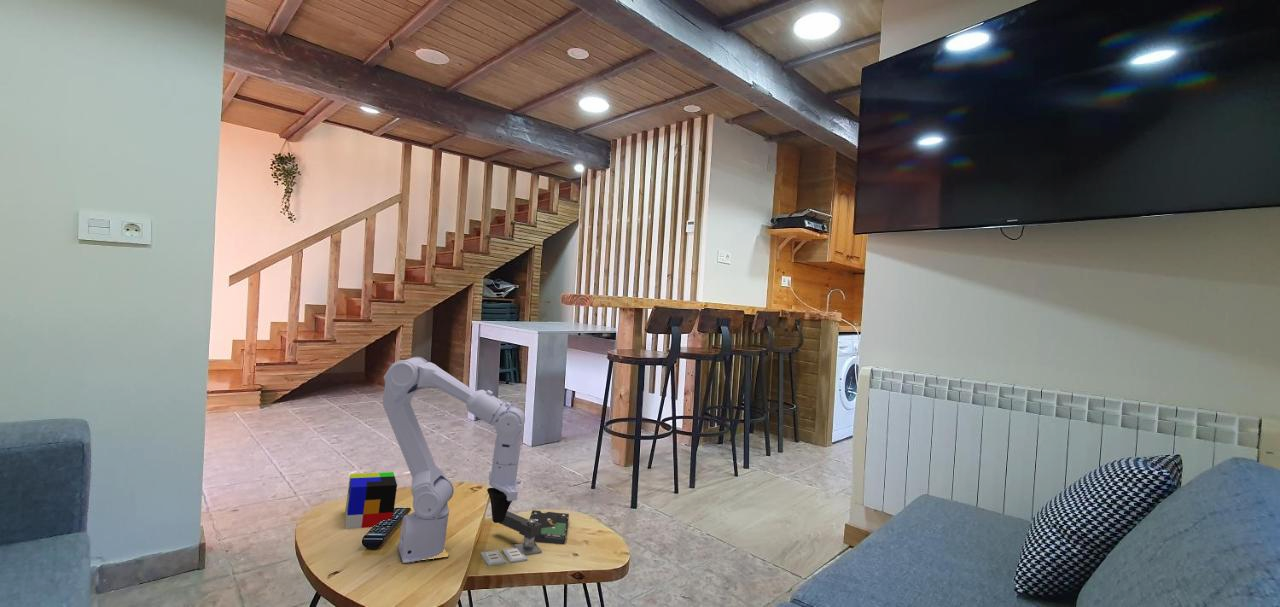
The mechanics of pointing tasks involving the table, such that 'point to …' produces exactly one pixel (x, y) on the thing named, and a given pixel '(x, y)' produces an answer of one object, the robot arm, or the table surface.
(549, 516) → the disk drive
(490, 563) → the label plate
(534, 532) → the swing arm
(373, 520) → the puzzle toy
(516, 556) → the label plate
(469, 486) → the table surface
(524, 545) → the pivot stand
